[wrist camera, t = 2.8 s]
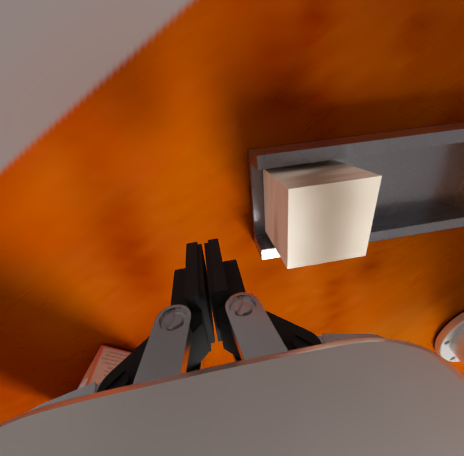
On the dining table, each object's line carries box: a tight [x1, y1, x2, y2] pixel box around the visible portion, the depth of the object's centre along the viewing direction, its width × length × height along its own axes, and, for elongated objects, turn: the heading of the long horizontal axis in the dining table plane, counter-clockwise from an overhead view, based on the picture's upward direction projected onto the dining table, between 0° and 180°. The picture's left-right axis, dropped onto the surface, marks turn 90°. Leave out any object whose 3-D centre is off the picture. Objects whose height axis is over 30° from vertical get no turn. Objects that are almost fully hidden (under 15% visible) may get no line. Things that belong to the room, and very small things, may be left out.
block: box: [263, 160, 382, 269], centre depth 18 cm, size 6×6×6 cm
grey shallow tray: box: [248, 122, 464, 260], centre depth 20 cm, size 22×9×3 cm, turn 96°
